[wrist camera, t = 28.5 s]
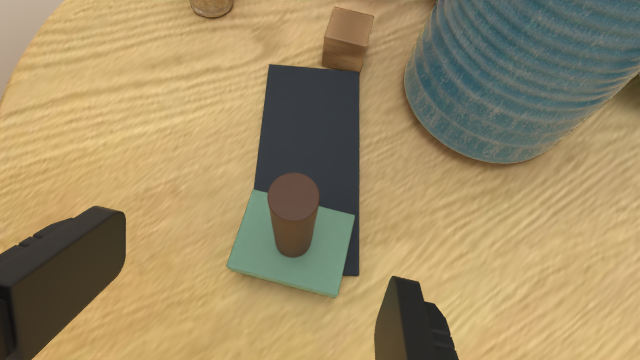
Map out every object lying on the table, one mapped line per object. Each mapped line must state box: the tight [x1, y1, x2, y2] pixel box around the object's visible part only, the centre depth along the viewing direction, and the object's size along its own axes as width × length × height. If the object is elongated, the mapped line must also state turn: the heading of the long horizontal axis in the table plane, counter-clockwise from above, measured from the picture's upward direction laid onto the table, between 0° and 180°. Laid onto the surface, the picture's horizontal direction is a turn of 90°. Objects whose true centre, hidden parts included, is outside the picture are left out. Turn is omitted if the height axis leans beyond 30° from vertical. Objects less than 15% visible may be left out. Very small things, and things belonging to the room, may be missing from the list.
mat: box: [254, 64, 359, 276], centre depth 32 cm, size 9×20×1 cm, turn 177°
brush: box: [227, 173, 355, 298], centre depth 23 cm, size 8×6×12 cm
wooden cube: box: [322, 7, 374, 74], centre depth 36 cm, size 4×4×4 cm
